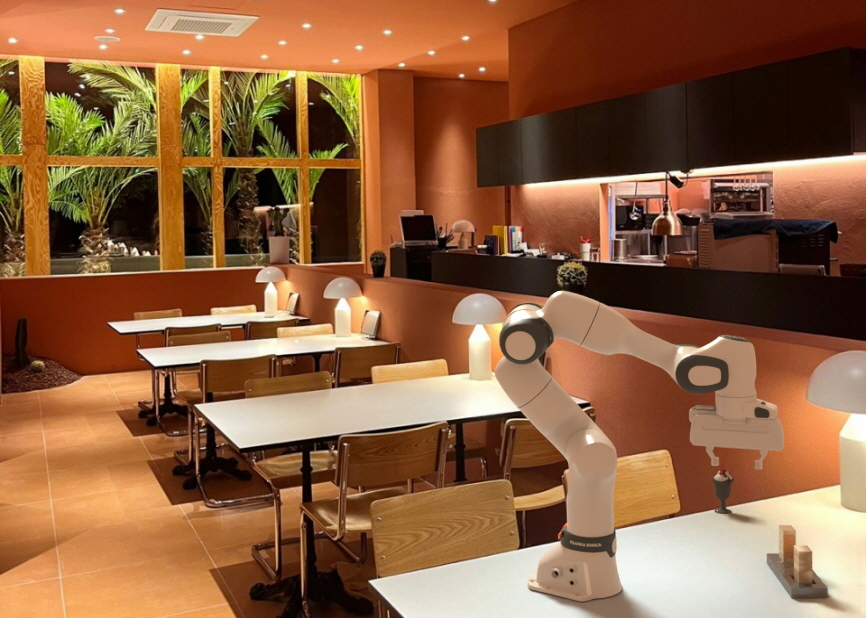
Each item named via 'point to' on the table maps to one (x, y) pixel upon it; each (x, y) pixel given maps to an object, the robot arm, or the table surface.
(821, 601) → the table surface
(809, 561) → the wooden block
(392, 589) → the table surface
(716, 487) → the sundae
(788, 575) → the gray block holder
